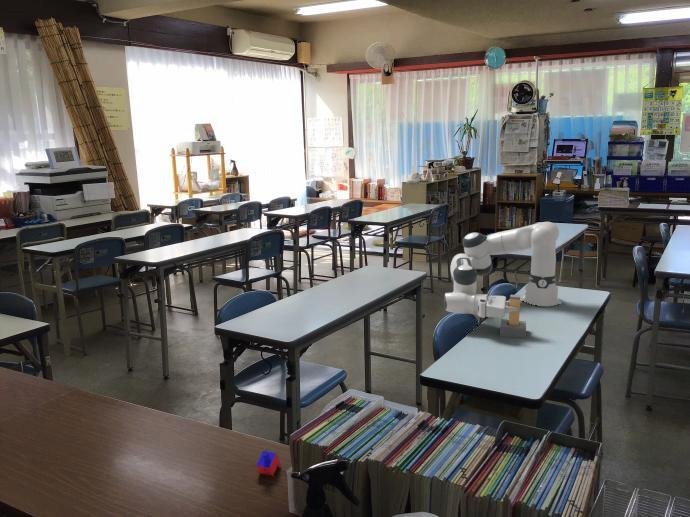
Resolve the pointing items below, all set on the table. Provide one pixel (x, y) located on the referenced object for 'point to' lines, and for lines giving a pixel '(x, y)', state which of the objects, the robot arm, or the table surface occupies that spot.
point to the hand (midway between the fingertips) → (516, 307)
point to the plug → (514, 315)
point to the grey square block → (513, 329)
